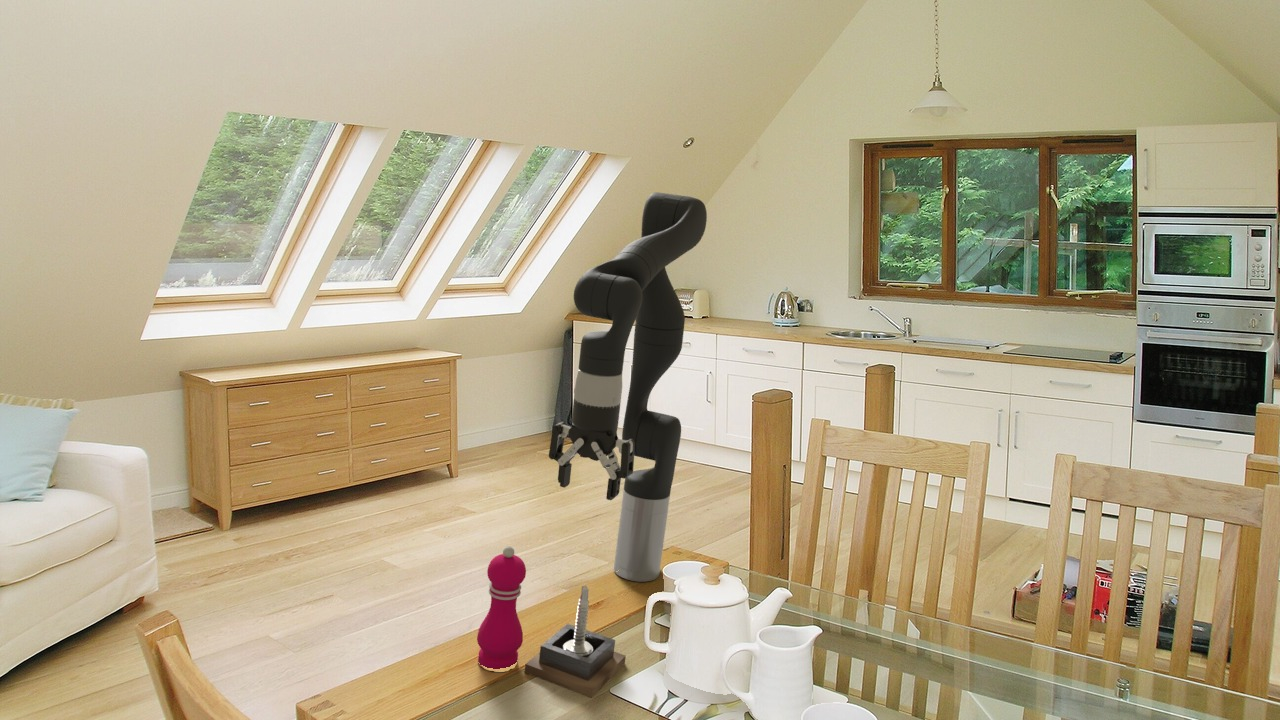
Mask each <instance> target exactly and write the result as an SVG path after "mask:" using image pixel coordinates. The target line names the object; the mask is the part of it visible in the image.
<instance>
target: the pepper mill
mask: <svg viewBox="0 0 1280 720" xmlns="http://www.w3.org/2000/svg"><path fill="white" fill-rule="evenodd" d="M526 569H527V568H526V564H525V562H524V561H523V559H522V558H521V557H520V556H517V555H516V554H515V549H514V548H513V547H512V546H506V547H504V548H503V550H502V553H501V554H498V555H496V556H495V557H493V558H492V559H491V560H490V562H489V564H488V567H487V570H486V571H487V578H488V580H489V581H490V583H489V584H488V586H489V587H488V588H489V589H488V594H489V595H490V597H491V598H490V600H491V601H490V606H489V607H490V608H489V610H488V613H487V614H486V616H485V617H484V619H483V620H482V622H481V624H480V626H479V628H478V631H477V635H476V636H477V637H476V642H477V644H478V646H479V648H480V649H479V651H478V656H477V657H478V658H477V663H478V662H479V663H480V665H483V666H485V667H487V668H493V669H500V668H506V667H510V666H511V665H513V664H515V663H516V662H517V663H518V661H517V660H518V659H519V652H518V651H519V649H520V648H521V647H522V644H523V641H524V639H523V638H524V637H523V636H524V635H523V633H524V632H523V628H522V624H521V621H520V619H519V616H518V613H517V612H518V611H517V600H518V597H520V596H521V593H522V591H521V590H522V585H521V584H522V583H523V582H524V580H525V578H526V574H527V570H526ZM479 663H478V664H479ZM480 665H479V666H480Z"/></svg>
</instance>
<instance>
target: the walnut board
mask: <svg viewBox="0 0 1280 720" xmlns="http://www.w3.org/2000/svg"><path fill="white" fill-rule="evenodd" d="M539 656H540V651H539V652H538V653H537V654H536V655H534V656H533V657H531V659H529V660H528V661H527V662H526V663H525V665H524V673H525V674H527V675H531V676H533V677H536V678H537V679H541V680H543V681H546V682H548V683H551V684H554V685H557V686H560V687H562V688H564V689H567V690H570V691H573V692H576V693H578V694H580V695H584V696H586V697H589V698H590V699H591V698H593V697H594V696H595V695H596V694H597V693H598V692H599V690H601V689H602V688H603V687H604V686H605V685H606V683H607V682H608V681H609V680H610V679H612V677H613V676H615V674H617V672H618V671H619V670H620V669H622V668H623V666H625V664H626V658H627V657H626V656H627V655H625V654H623V653H619V652H617V651H614V655H613V657H612V658H611V659H610V660H609V661H608V662H607V663H606V664H605V665H604V666H603V667H602V668H601V669H600V670H599V671H598V672H597V673H596V674H595V675H594V676H593V677H592V678H591V679H590V680H589V681H587V680H584V679H581V678H579V677H576V676H573V675H570V674H568V673H565V672H562V671H560V670H557V669H554V668H551V667H549V666H546V665H543V664H541V663H539ZM589 656H590V655H589ZM589 656H587V657H586V658H588V657H589Z"/></svg>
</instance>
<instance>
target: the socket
mask: <svg viewBox="0 0 1280 720" xmlns="http://www.w3.org/2000/svg"><path fill="white" fill-rule="evenodd" d="M575 626H576V625H574V624H573V625H572V624H570V623H566V624H565V625H564V626H563V627H561V628H560V629H559V630H558V631H556V632H555V633H554V634H553V635H552V636H551V637H550V638H548V639H547V640H546V641H544V642H543V643H542V644H541V645H540V647H539V649H540V650H539V652H540V656H539V663H541V664H543V665H546V666H549V667H551V668H554V669H557V670H560V671H562V672H565V673H568V674H570V675H573V676H576V677H579V678H581V679H584V680H587V681H589V680H590V679H591V678H592V677H593V676H594V675H595V674H596V673H597V672H598V671H599V670H600V669H601V668H602V667H603V666H604V665H605V664H606V663H607V662H608V661H609V660H610V659H611V658H612V657H613V655H614V652H615V646H616V639H613V638H610V637H608V636H604V635H602V634H599V633H596V632H593V631H591V630H587V629H586V634H585V641H586V642H588V643H589V644H591V645H592V647H593V653H592V654H591V655H590V656H589V657H588V658H586V657H583V656H580V655H578V654H575V653H572V652H569V651H566V650H564V649H563V645H564V644H565V643H566V642H568V641H569V640H573V639H575V638H574V636H575V634H574V633H575V629H576V628H575Z"/></svg>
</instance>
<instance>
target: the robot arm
mask: <svg viewBox="0 0 1280 720" xmlns="http://www.w3.org/2000/svg"><path fill="white" fill-rule="evenodd" d="M707 214H708V213H707V207H706V205H705V203H704V202H703V201H702V200H701V199H699V198H696V197H692V196H688V195H679V194H672V193H665V192H652V193H650V195H649V196H648V197H647V198H646V201H645V203H644V206H643V210H642V218H641V236H640V238H638V239H635V240H633V241H631V242H630V243H628V244H627V245H626V246H625V247H624V248H622V250H620V252H619V253H617V255H616V256H615V257H613V259H610V260H607V261H605V262H603V263H601V264H599V265H596V266H594V267H592V268H590V269H588V270H587V271H586V272H584V273H583V274H582V275H581V277H580V278H579V279H578V281H577V283H576V285H575V286H574V289H573V290H574V291H573V303H574V306H575V307H576V309H577V310H578V311H579V312H580V313H581V314H583V315H585V316H588V317H592V318H597V319H602V320H607V321H612V324H611V326H610V328H609V330H606V331H605V330H604V331H603V330H602V331H590V332H587V333H585V334H584V335H583V337H582V339H581V342H580V349H579V351H580V352H579V361H578V370H577V374H576V379H575V385H574V389H573V394H574V395H573V403H572V404H573V405H572V413H571V426H569V425H567V423H566V422H564V421H561V422H558V423H557V424H555V425H553V427H552V431H551V432H552V433H551V439H550V445H549V451H548V458H549V459H550V460H554V461H556V462H557V463H558V475H557V482H558V483H559V487H560V488H563V489H564V488H567V487H568V486H569V485H570V483H571V482H570V481H571V474H572V465H573V463H572V462H571V461H572V460H573V459H574V458H575V457H576V456H578V455H579V457H580V458H589V459H590V460H592V461H596V462H598V461H599V462H600V464H601V466H602V467H603V468H604V469H605V471H606V472H607V474H608V476H609V477H608V481H607V487H606V488H607V490H606V496H605V497H606V498H605V499H606V500H607V501H613V500H614V499H615V498H616V497H618V496H619V494H620V489H621V480H622V479H624V484H623V491H622V492H623V493H622V499H621V508H620V518H619V524H618V530H617V531H618V532H617V539H616V549H615V557H614V566H613V572H614V573H615V574H616V575H617V576H619V577H620V578H623V579H625V580H627V581H632V582H638V583H641V582H651V581H654V580H657V579H658V578H659V576H660V571H661V563H662V558H663V550H664V543H665V535H666V529H667V520H668V513H669V512H668V511H669V504H670V498H671V497H670V496H671V493H672V492H671V491H672V485H673V480H674V475H675V470H676V468H675V467H676V463H677V457H678V452H679V448H680V443H681V436H682V424H681V421H680V419H679V418H678V417H676V416H674V415H669V414H665V413H660V412H656V411H651V410H648V402H649V399H650V395H651V393H652V390H653V389H654V388H655V386H656V384H657V383H658V381H659V380H660V379H661V378H662V376H664V374H665V373H666V372H667V371H668V370H669V368H670V367H672V365H673V364H674V362H675V361H676V360H677V358H678V357H679V355H680V354H681V351H682V349H683V342H684V341H683V340H684V331H685V319H686V315H685V312H684V309H683V306H682V303H681V301H680V299H679V296H678V295H677V293H676V291H675V289H674V287H673V284H672V282H671V280H670V278H669V275H668V273H667V269H666V267H667V266H669V265H670V264H671V263H672V262H674V261H675V260H677V259H678V258H680V257H682V256H683V255H684V254H686V253H688V252H689V251H690V250H692V249H693V248H694V247H697V245H698V244H699V243H700V241H701V240H702V239H703V236H704V234H705V231H706V227H707V221H708V220H707V218H708V215H707ZM633 326H634V333H633V347H632V348H633V349H632V363H631V364H632V365H631V374H630V384H629V390H628V394H627V402H626V406H625V407H626V408H625V412H624V418H623V425H622V432H621V434H622V435H621V439H619V436H618V433H617V432H618V427H619V422H620V421H619V418H620V411H621V403H622V402H621V401H622V392H623V368H624V360H625V354H626V353H625V352H626V347H627V344H628V340H629V337H630V335H631V332H632V329H633ZM567 436H568V437H569V438H570V441H571V443H572V445H570V447H568V449H567V450H566V451H565V452H563V450H564V445H565V443H564V442H565V438H566V437H567ZM616 447H617V448H618V452H619V454H620V463H619V462H618V461H619V458H618V456H617V454H616V453H615V450H614V449H615V448H616ZM635 457H638V458H642V459H646V460H651V461H653V462H654V466H653V467H651V468H648V469H647V468H646V469H644V468H643V469H637V470H634V466H635V465H634V463H635ZM618 570H619V571H618ZM616 571H618V572H616Z"/></svg>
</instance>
